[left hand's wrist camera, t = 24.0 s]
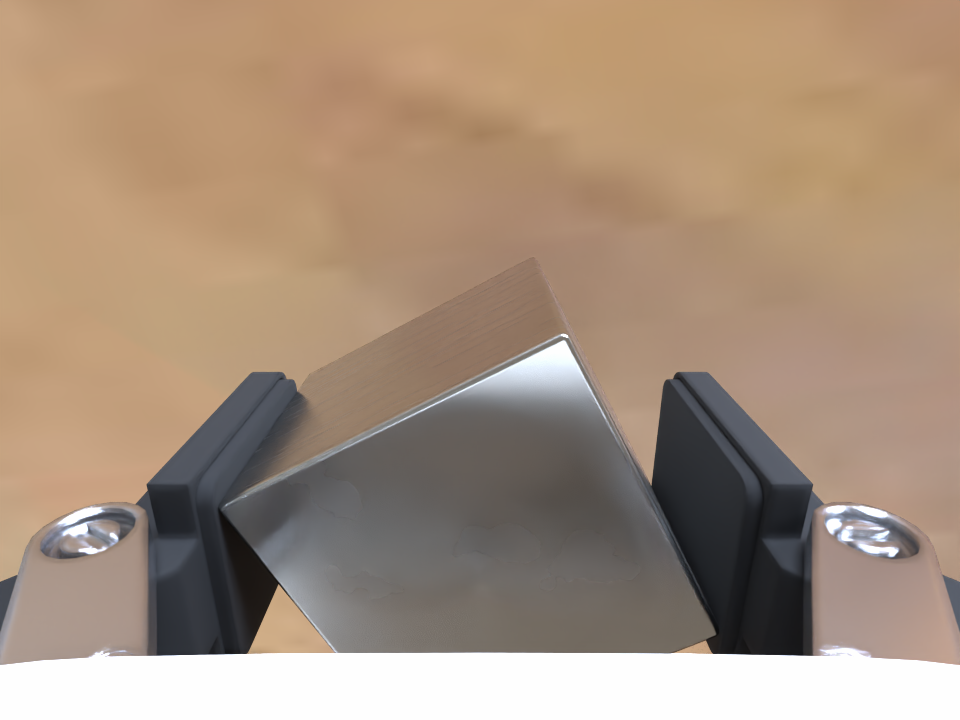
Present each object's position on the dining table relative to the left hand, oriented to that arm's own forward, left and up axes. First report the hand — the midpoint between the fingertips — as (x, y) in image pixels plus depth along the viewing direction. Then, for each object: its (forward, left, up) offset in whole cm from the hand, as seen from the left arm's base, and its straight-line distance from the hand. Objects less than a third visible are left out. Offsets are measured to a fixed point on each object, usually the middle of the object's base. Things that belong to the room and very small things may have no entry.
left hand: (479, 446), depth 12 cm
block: (0, 0, -1) cm, 1 cm away
